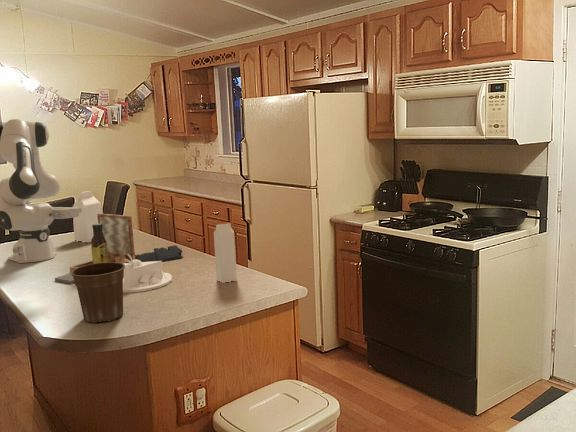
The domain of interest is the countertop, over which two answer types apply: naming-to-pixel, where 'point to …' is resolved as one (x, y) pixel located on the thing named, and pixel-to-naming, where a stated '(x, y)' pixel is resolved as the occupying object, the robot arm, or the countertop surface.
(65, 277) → the slate tile
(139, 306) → the countertop surface
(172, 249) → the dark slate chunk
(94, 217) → the milk
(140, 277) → the dish
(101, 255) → the sauce bottle
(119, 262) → the brown rounded block
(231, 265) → the milk
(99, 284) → the plant pot
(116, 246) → the cedar box
